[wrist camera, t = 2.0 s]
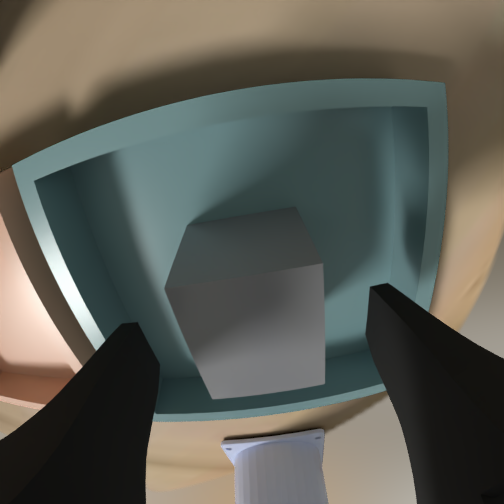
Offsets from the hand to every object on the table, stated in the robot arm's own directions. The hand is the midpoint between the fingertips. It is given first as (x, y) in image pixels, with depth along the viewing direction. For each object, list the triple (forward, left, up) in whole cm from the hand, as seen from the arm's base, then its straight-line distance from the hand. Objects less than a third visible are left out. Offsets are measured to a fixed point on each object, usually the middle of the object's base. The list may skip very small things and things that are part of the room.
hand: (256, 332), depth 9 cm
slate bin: (0, 0, -4) cm, 4 cm away
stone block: (0, 0, -4) cm, 4 cm away
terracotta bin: (0, +15, -4) cm, 16 cm away
